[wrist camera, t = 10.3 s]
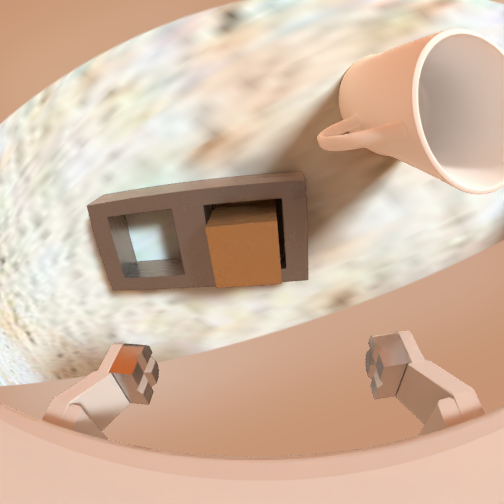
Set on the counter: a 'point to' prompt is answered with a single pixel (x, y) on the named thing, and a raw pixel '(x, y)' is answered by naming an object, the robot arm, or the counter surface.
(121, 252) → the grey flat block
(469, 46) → the mug
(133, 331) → the counter surface
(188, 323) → the counter surface
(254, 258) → the wooden toy block
